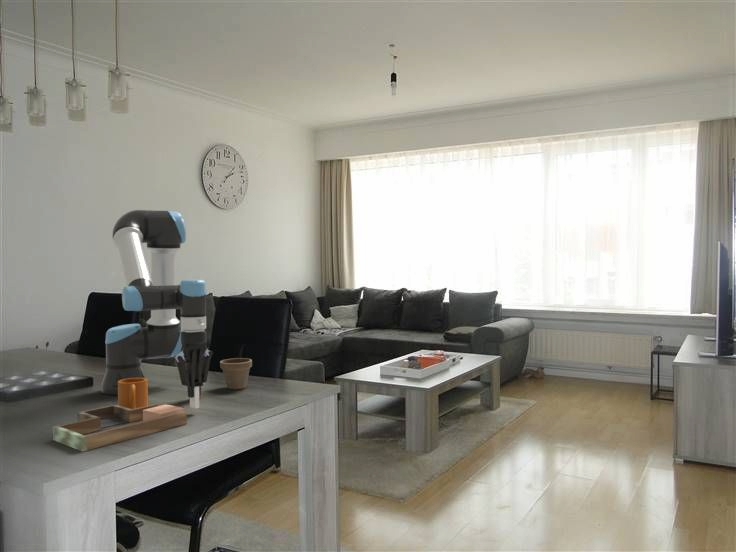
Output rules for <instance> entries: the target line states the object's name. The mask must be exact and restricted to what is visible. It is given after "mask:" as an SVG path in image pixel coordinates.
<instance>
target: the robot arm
mask: <svg viewBox="0 0 736 552" xmlns="http://www.w3.org/2000/svg"><path fill="white" fill-rule="evenodd" d="M186 230H187V229H186V224H185V221H184V218H183V216H182V215H181V213H180V212H179V211H172V210H150V209H149V210H148V209H147V210H146V209H145V210H144V209H135V210H134V209H133V210H130V211H128V212H126V213H125V214H123V215H122V216H120V217H119V218H118V219H117V221H116V223H115V224H114V226H113V229H112V240H113V244H114V246H115V247H117V249H118V253H119V257H120V262H121V266H122V271H123V273H124V274H123V275H124V279H125V283H126V286H124V287H123V289H122V292H121V301H122V308H123V310H124V311H128V312H132V311H133V312H141V311H142V312H144V311H150V318H149V319H148V320H146V326H145V327H142V326H141V324H139V323H129V324H121V325H118V326H113V327H111V328H108V330H107V331H106V332H105V341H104V343H105V365H106V366H105V374H104V376H103V379H102V383H101V386H100V392H101V393H102V394H104V395H111V396H112V395H113V396H114V395H116V396H118V381H119V380H122V379H128V378H146V377H145V374H144V371H143V369H142V361H143V360H151V359H152V360H153V359H163V358H165V359H169V358H173V359H174V361H175V362H176V366H177V370H178V374H179V379H180V382H181V386H185V387H187V397H188V398H189V407H190V408H192V409H199V408H200V399H199V396H200V397H201V396H202V395H201V393H202V387H203V386H204V385H203V383H207V381H208V375H209V369H210V363H211V359H212V356H213V355H214V351H213V350H209V349H208V348H207V345H206V343H207V341H208V340H207V331H206V329H207V285H206V281H205V280H204V279H182V280H181V281H180V283H179V284H177V252H179V250H181V245H183V244H184V243H185V242H186V238H187V232H186ZM143 244H146V249H148V251H149V252H150V253H151V254H150V256H151V257H150V260H151V261H150V263H151V264H150V265H151V266H150V268H151V270H149V269H150V268H149V265H148V261H147V258H146V254H145V250H144V246H143ZM150 271H151V272H150ZM176 310H180V319H178V317H177V316H176V314H177V313H176Z"/></svg>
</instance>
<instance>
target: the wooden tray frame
mask: <svg viewBox="0 0 736 552" xmlns="http://www.w3.org/2000/svg"><path fill="white" fill-rule="evenodd" d="M157 406H159V404H157V403H154V404H148V406H144V407H140V408H135V409H129V408H126V407H122V406H119V405H118V404H112V405H106V406H100V407H97V408H92V409H91V408H90V409H87V410H83V411H78V412H77V414H76V415H77V416H76V417H77V419H76V420H77V421H72V422H69V423H64V424H60V425H55V426H52V440H53V441H54V442H57V443H60V444H62V445H65V446H67V447H70V448H73V449H75V450H76V451H80V452H82V453H83V452H87V451H90V450H93V449H97V448H102V447H105V446H108V445H113V444H117V443H120V442H124V441H128V440H131V439H136V438H139V437H143V436H147V435H151V434H154V433H158V432H162V431H166V430H170V429H174V428H177V427H181V426H184V425H185V426H186V425H187V424H188V417H187V415H188V413H187V411H185V410H184V411H183V412H179V413H175V414H171V415H167V416H163V417H158V418H154V419H150V420H146V421H143V410H145V409H149V408H153V407H157ZM126 423H129V424H126ZM121 424H126V425H123V426H118V427H114V428H110V429H106V430H102V431H101V429H105V428H109V427H113V426H117V425H121ZM93 432H94V433H93Z"/></svg>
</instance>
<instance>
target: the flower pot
mask: <svg viewBox="0 0 736 552" xmlns="http://www.w3.org/2000/svg"><path fill="white" fill-rule="evenodd" d="M219 366H220V367H219V368H220V369H221V370H222V372H223V377H224V380H225V383H226V386H227V388H228V390H241V389H245V388H246V387H247V385H248V380H249V373H250V370H251V368H252V367H253V359H251V358H247V357H246V358H245V357H244V358H243V357H239V358H238V357H236V358H228V359H222V360H220V361H219Z"/></svg>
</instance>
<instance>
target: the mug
mask: <svg viewBox="0 0 736 552" xmlns="http://www.w3.org/2000/svg"><path fill="white" fill-rule="evenodd" d="M148 384H149V381H148V378H146V377H145V378H128V379H122V380H119V381H118V395H117V405H119V406H122V407H126V408H129V409H135V408H140V407H144V406H149V392H148V391H149V385H148Z"/></svg>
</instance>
